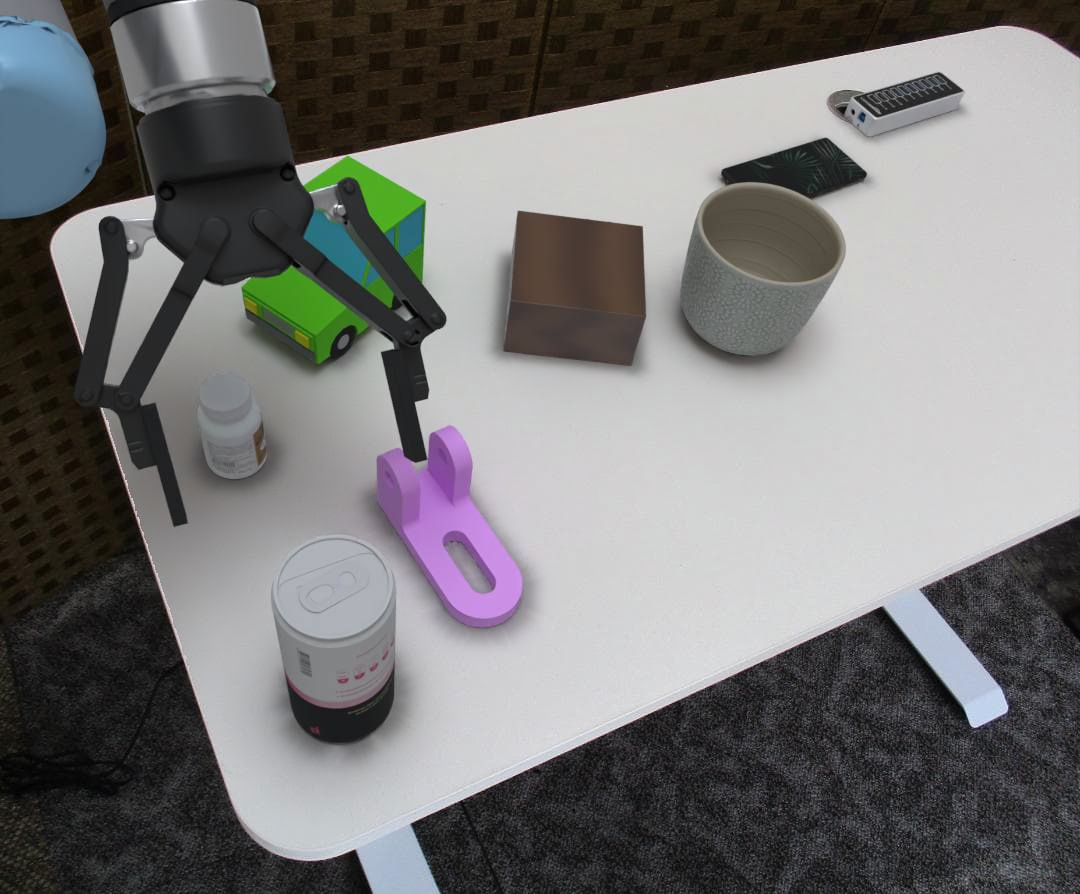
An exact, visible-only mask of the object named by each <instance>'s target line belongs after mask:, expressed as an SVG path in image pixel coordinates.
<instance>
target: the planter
mask: <svg viewBox="0 0 1080 894" xmlns="http://www.w3.org/2000/svg"><path fill="white" fill-rule="evenodd" d="M695 216H696V217H695V219H694V222H693V226H692V230H691V234H690V238H689V242H688V247H687V250H686V251H687V252H686V255H685V259H684V265H683V270H682V275H681V282H680V305H681V309H682V312H683V314H684V317H685V319H686V320H687V321H686V322H688V325H690V327H691V328H692V330H693V331H694V332H695V333H696V334H697V335H698V336H699V337H701V339H703V340H704V341H706V342H707V343H708V344H710V345H711V346H712V347H715V348H717V349H720V350H722V351H724V352H727V353H730V354H734V355H739V356H760V355H761V356H762V355H767V354H771V353H773V352H776V351H779V350H781V349H782V348H785V347H786V346H787V345H789V344H790V343H791V342H792V341H794V340H795V338H797V337H798V336H799V334H800V333H801V331H802V330H804V328H805V327H806V325H807V324H808V322H809V321H810V320H811V318H812V316H813V315H814V313H815V312H816V310H817V309H818V308H819V306H820V304H821V303H822V301H823V299H824V298H825V296H826V294H827V293H828V291H829V289H830V288H831V286H832V284H833V283H834V281H835V279H836V277H837V275H838V273H839V272H840V269H841V267H842V265H843V263H844V261H845V257H846V254H847V244H846V239H845V236H844V234H843V232H842V231H843V230H842V229H841V228H840V226H839V224H838V223H837V221H836V220H835V218H834V217H833V216H832V215H831V214H830V213H829V212H828V211H827V210H826V209H824V208H823V207H822V205H820V204H818V203H817V202H816V201H814V200H812V199H811V198H810V197H809V198H807V197H805V196H804V195H802V194H799V193H797V192H795V191H792V190H790V189H787V188H784V187H780V186H777V185H772V184H766V183H757V182H745V183H736V184H728V185H724V186H722V187H720V188H718V189H715V190H714V191H712V192H711V193H710V194H709V195H707V196H706V197H705V198H704V200H703V201H702V202H701V204H700V206H699V209H698V211H697V213H696V215H695Z"/></svg>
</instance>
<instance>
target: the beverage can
mask: <svg viewBox="0 0 1080 894" xmlns="http://www.w3.org/2000/svg"><path fill="white" fill-rule="evenodd" d="M396 583H397V582H396V578H395V574H394V572H393V570H392V568H391V566H390V564H389V562H388V560H387V559H386V557H385V556H384V554H383V553H382V552H380V550H379V549H377V547H375V545H373V544H371V543H370V542H368V541H366V540H364V539H362V538H359V537H356V536H353V535H347V534H336V533H335V534H325V535H319V536H317V537H313V538H310V539H308V540H306V541H304V542H301V543H300V544H298V545H297V546H296V547H294V548H293V549H292V550H291V551H289V553H287V554H286V555H285V557H284V558H283V559H282V561H281V562H280V564H279V566H278V567H277V570H276V572H275V575H274V578H273V581H272V584H271V589H270V604H271V611H272V615H273V619H274V620H273V621H274V625H275V630H276V635H277V641H278V646H279V651H280V657H281V661H282V666H283V672H284V676H285V682H286V687H287V692H288V697H289V703H290V706H291V707H290V708H291V711H292V713H293V716H294V719H295V720H296V722H297V723H298V725H299V726H300V727H301V729H302V730H303V731H304V732H306V733H307V734H308V735H310V736H312V738H315V739H317V740H320V741H321V742H326V743H331V744H348V743H349V744H350V743H354V742H356V741H359V740H362V739H364V738H366V737H368V736H369V735H371V734H372V733H374V732H375V731H376V730H377V729H378V728H380V726H381V725H382V724H383V723H384V722H385V720H386V719H387V718H388V716H389V714H390V712H391V709H392V707H393V704H394V699H395V679H396V678H395V676H396V675H395V671H396V628H397V627H396V625H397V624H396V622H397V584H396Z"/></svg>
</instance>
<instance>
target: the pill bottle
mask: <svg viewBox="0 0 1080 894" xmlns="http://www.w3.org/2000/svg"><path fill="white" fill-rule="evenodd" d="M251 391H252V390H251V386H250V384H249V382H248V381H247V380H246V379H245V378H244V377H243V376H242V375H240V374H237V373H233V372H219V373H215V374H212V375H210V376H209V377H207V378H206V379H205V380H203V381H202V383H201V384H200V386H199V388H198V393H197V394H198V395H197V396H198V400H199V407H198V409H197V413H196V422H197V427H198V431H199V434H200V439H201V443H202V447H203V452H204V456H205V460H206V463H207V465H208V468H209V469H210V470H211V471H212V472H213V473H214V474H216V475H217V476H219V477H221V478H223V479H224V478H225V479H229V480H239V479H244V478H245V479H246V478H248V477H250V476H252V475H254V474H256V473H257V472H258V471H260V469H262V468H263V466H264V465H265V463H266V461H267V458H268V446H267V440H266V434H265V433H266V432H265V429H264V428H265V427H264V422H263V414H262V409H261V406H260V404H259V403H258V401H257V400H256V398H255V397H253V396H252V392H251Z"/></svg>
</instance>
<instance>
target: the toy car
mask: <svg viewBox="0 0 1080 894" xmlns="http://www.w3.org/2000/svg"><path fill="white" fill-rule="evenodd" d="M345 177H351V178H354V179H355V180H356V181H358V183H359V185H360V188H361V191H362V194H363V197H364V200H365V203H366V206H367V209H368V212H369V215H370V216H371V217H372V219H373V220H374V221H375V223H376V224H377V225H378V227H379V228H380V229H381V230H382V232H383V233H384V234H385V236H386V237H387V238H388V240H389V241H390V242H391V243H392V245H393V246H394V247H395V249H396V250H397V251H398V253H399V254H400V255H401V257H402V258H403V259H404V260H405V262H406V263H407V264H408V266H409V267H410V268H411V270H412V271H413V272H414V274H415V275H416V276H417V277H418V279H419V280H420V281H421V283H423V278H424V256H425V255H424V254H425V235H426V234H425V233H426V213H427V212H426V211H427V200H426V199H424V198H422V197H420V196H419V195H417V194H415V193H414V192H412V191H410V190H409V189H407V188H405V187H403V186H401V185H400V184H398V183H397V182H394V181H393V180H391V179H389V178H388V177H386V176H384V175H383V174H381V173H379V172H377V171H376V170H374V169H372V168H370V167H369V166H367V165H365V164H363V163H362V162H361V161H359V160H357V159H355V158H353V157H352V156H349V155H346V156H345V157H342V158H341V159H340V160H339V161H337V162H336V163H334V164H333V165H331V166H330V167H328V168H327V169H325V170H324V171H322V172H321V173H319V174H318V175H317V176H314V178H312V179H311V180H309V181H307V182H306V183H305V184H302V185H303V186H304V188H305V189H306V190H307V191H308V192H311V191H314V190H317V189H321V188H324V187H328V186H331V185H335V184H336V183H337V182H339V181H340V180H342V179H344V178H345ZM303 238H304V239H305V240H307V241H308V242H309V243H310V244H312V245H313V246H314V247H315V248H317V249H318V250H319V251H320V252H322V253H323V254H324V255H325V256H326V257H327V258H328V259H329V260H330V261H331V262H332V263H334V264H335V265H336V266H337V267H339V268H340V269H341V270H342V271H344V272H345V273H346V274H347V275H349V276H350V277H351V278H352V279H354V280H355V281H356V282H358V283H359V284H360V285H361V286H363V287H364V288H365V289H366V290H368V291H369V292H370V293H371V294H373V295H374V296H375V297H377V298H378V299H379V300H380V301H382V302H383V303H384V304H385V305H387V306H388V307H389V308H390V309H392V308H393V309H399V308H400V307H402V306H403V305H402V304H401V302H400V301H399V300H398V298H397V297H396V296H395V295H394V293H393V292H392V291H391V289H390V288H389V287H388V286H387V284H386V283H385V282H384V281H383V279H382V278H381V277H380V275H379V274H378V273H377V272H376V270H375V269H374V268H373V266H372V265H371V264H370V263H369V261H368V260H367V259H366V257H365V256H364V255H363V254H362V252H361V251H360V250H359V248H358V247H357V246H356V245H355V243H354V242H353V241H352V240H351V238H350V237H349V235H348V234H347V232H346V231H345V229H344V227H343V225H342V223H339V224H335V223H332V222H331V221H329V220H328V218H327V217H326V215H325V214H324V213H323V212H321V211H317V210H316V211H314V213H313V216H312V219H311V221H310V223H309V226H308V228H307V230H306V233H305V235H304V237H303ZM241 293H242V301H243V307H244V312H245V317H246V319H247V320H249V321H250V322H251V323H253V324H255V325H256V326H258V327H259V328H261V329H262V330H264V331H266V332H267V333H269V334H270V335H271V336H273V337H274V338H276V339H277V340H279V341H281V343H283V344H285V345H287V346H288V347H289V348H291V349H293V350H294V351H296V352H297V353H299V354H300V355H302V356H304V357H305V358H306V359H308V360H309V361H311V362H313V363H316V364H317V365H320V364H322V362H324V361H325V360H326V359H328V358H329V357H331V358H335V359H338V358H340V357H342V356H344V355H345V354H346V353H347V352H348V350H350V348H351V346H352V345H353V343H354V341H355V338H356V335H357V336H358V335H359V334H361V333H362V332H363V331H365V330H366V329H367V328H369V327H370V325H369V324H367V323H366V322H365V321H363V320H362V319H361V318H360V317H358V316H357V315H356V314H354V313H353V312H352V311H351V310H349V309H348V308H347V307H345V306H344V305H343V304H342V303H340V302H339V301H338V300H336V299H335V298H334V297H333V296H331V295H330V294H329V293H327V292H326V291H325V290H324V289H322V288H321V287H320V286H318V285H317V284H316V283H314V282H313V281H312V280H311V279H309V278H308V277H306V276H304V275H303V274H301V273H300V272H299V271H297V270H296V269H295V268H293V267H292V266H290V267H289V268H288V269H287V270H286V271H285V272H283V273H282V274H281V275H278V276H274V277H269V278H248V280H247V281H246V282H245V283H244V284H243V285H242V286H241Z"/></svg>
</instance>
